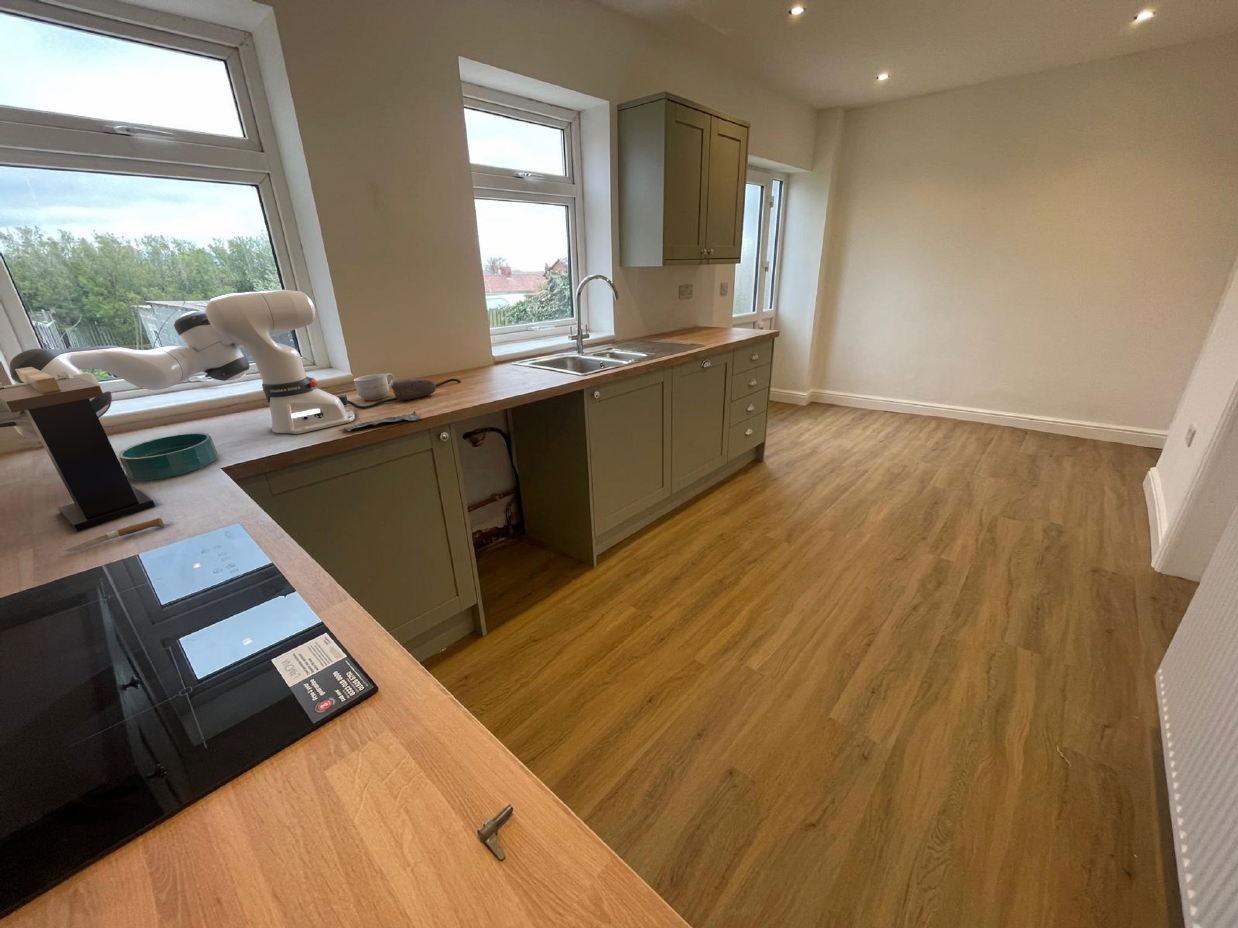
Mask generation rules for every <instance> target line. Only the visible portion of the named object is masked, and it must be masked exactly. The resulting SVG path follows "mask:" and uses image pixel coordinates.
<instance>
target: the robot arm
mask: <svg viewBox="0 0 1238 928" xmlns="http://www.w3.org/2000/svg"><path fill="white" fill-rule="evenodd" d="M205 308H206V309H205V310H192V311H188V312H185V313H183V314H182V315H180V316H178V318H177V319H175V321H174V323H173V327H174V329H175V332H176V333H177V335H178V336H180V337H181V338H182V340H183V342H184V343H185V345H186V346H187V347H186V346H182V345H168V346H160V347H159V346H158V347H154V348H151V349H145V350H144V349H133V348H126V347H122V346H120V345H111V344H110V345H95V346H85V347H84V346H82V347H71V348H60V349H59V348H30V349H27V350H25V351H22V352H20V353H18V354H17V355H15V356H13V358H12V359H11V360H10V362H9V374H10V378H11V380H13V381H14V382H17V383H15V384H8V385H7V384H6V385H3V384H2V382H1V381H0V390H2V389H9V388H15V387H21V386H27V385H28V384H26V383H24V382H23V381H21V380H20V378H19V376H18V374H17V372H16V370H15V369H20V368H27V367H33V368H35V369H37V370H39V371H42V372H44V373H46V374H48V375H50V376H52V377H55V379H56V381H59V380H65V379H71V378H77V377H79V378H82V379H84V380H87V381H89V382H92V383H94V384H97V385H99V386H100V388H101V390H102V392H103V395H104V396H100V397H94V398H89V400H90V402H91V404H92V406H93V408H94V410H95V412H96V414H97V416H98V418H99V419H100V418H101V417H103V416H104V415H105V414H106V413H107V412H108V411H109V409H110V408H111V405H112V401H113V396H112V392H111V391H110V390H109V389H107V388H106V387H104V386H103V385H102V384H100V382H99V380H98V379H97V377H96V376H95V374H93V373H91V372H83V371H82V370H87V369H96V370H101V371H105V372H107V373H110V374H112V375H114V376H116V377H118V378H120V379H122V380H123V381H126V382H127V383H129V384H131V385H133V386H135V387H137V388H140V389H143V390H148V391H160V390H165V389H169V388H171V387H174V386H176V385H179V384H180V383H183V382H185V381H187V380H188V379H190V378H192V377H193V376H195V375H197V374H199V373H204V374H205V375H204V377H205V378H212V379H214V380H216V381H221V382H222V381H223V382H226V381H234V380H237V379H240V378H241V377H243V376H244V375H245V374H246V373H247V371H249V370H250V366H251V365H250V363H249V360H248V359H247V357H246V356H245V355H244V354H243V352H242V351H241V349H240V348H239V347H241V348H244V349H245V350H246V351H247V352H248V353H249V354H250V356H251V357H252V359H253V361H254V363H255V366H256V368H257V370H258V372H259V375H260V378H261V381H262V384H261V386H262V388H261V389H262V393H263V394H264V397H265V400H266V402H267V403H268V405H269V411H270V416H271V431H272V432H273V433H275V434H276V433H277V434H293V435H301V434H304V433H309V432H314V431H318V430H323V429H327V428H330V427H336V426H339V425H344V424H348V423H352V422H353V421H354V420H355V419H356V415H355V412H354V411H353V410H352V409H348V408H347V409H346V407H345V406H348V404H349V405H351V406H352V407H354V408H356V409H360V410H365V409H370V408H374V407H377V406H379V405H381V404H385V403H390V402H395V401H399V400H398V399H397V398H396V397H392V398H387V399H382V400H378V401H376V402H373V403H371V404H367V405H360V404H359V405H358V404H357V403H356V402H353V401H351V400H348V397H347V394H343V395H334V394H332V393H330V392H327V391H326V390H323V389H320V388H318V386H319V383H318V380H317V379H315V378H314V377H310V376H307V373H306V371H305V370H306V369H305V366H304V364H303V360H302V356H301V354H300V353H299V351H298V350H297V349H296V348H294V347H293V346H290V345H287V344H284V343H280V342H277V341H275V340H274V339H273V338H274V337H278V336H280V335H284V334H286V333H287V334H288V333H289V332H292V331H295V330H297V329H300V328H305V327H308V326H310V325H312V323H313V322H314V320H315V318H316V308H315V303H313V301H312V300H311V298H310V297H309V296H308V295H307V294H306V293H304V292H303V291H300V290H292V289H276V290H275V289H274V290H273V289H272V290H263V291H248V292H235V293H227V294H223V295H219V296H216V297H213V298H210V299H209V300H208V302H207V305H206V307H205ZM451 382H456V383H460V384H461V383H462V381H461V380H460V379H459V378H449V379H446V380H444V381H441V382H438V383H435V384H436V388H437V387H440V386H443V385H445V384H448V383H451ZM10 427H13V428H14V429H15V431H16V432H17V433H18V434H20V435H21V436H22V437H24V438H26V439H29V440H31V441H34V442H35V441H36V442H41V440H40V438H39V436H38V434H37V432H36V431H35V429H34V427H33V425H32V423H31V421H30V419H29V418H28V416H27V414H26V412H25V410H24V411H19V412H14V413H12V412H11V411H9V410H8V409H7V408H6V407H4V406H3V405H2V404H1V403H0V428H10Z"/></svg>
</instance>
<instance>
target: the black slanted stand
mask: <svg viewBox="0 0 1238 928" xmlns="http://www.w3.org/2000/svg"><path fill="white" fill-rule="evenodd" d="M57 383H58V385H59V387H60V389H61V390H58V391H52V392H47V393H42V392H40V391H38V390H37V389H35V388H33V387H31V386H30V385H27V386H21V387H15V388H9V389H2V390H0V403H1V404H2V405H3V406H4V407H6V408H7V409H8V410H9V411H11V412H12V413H14V412H19V411H24V410H25V412H26V414H27V416H28V418H29V419H30V421H31V423H32V425H33V427H34V429H35V431H36V432H37V434H38V436H39V438H40V440H41V441H40V442H41V443H42V445H43V448H44V449H45V451H46V454H47V455H48V457H49V459H50V460H51V462H52V464H53V466H54V468H55V469H56V472H57V474H58V476H59V477H60V480H61V482H62V483H63V485H64V487H65V488H66V490H67V492H68V494H69V496H70V498H71V500H72V501H73V503H68V504H67V505H62V506H59V507H57V509H58V512H59V513H60V514H61V516H62V517H63V518H64V519H65V520H66V521H67V522H68V523H69V525H71V527H72V528H73V529H74V530H75V531H76V532H77V533H78V532H80V531H84V530H87V529H90V528H93V527H97V526H100V525H103V524H105V523H108V522H111V521H115V520H118V519H120V518H124V517H127V516H130V515H133V514H137V513H139V512H142V511H145V510H148V509H151V508H154V507H156V504H155V502H154V500H153V499H152V498H150V497H149V496H148V495H146V494H145V493H144V492H142V491H141V490H139V489H138V488H137V487H135V486H134V485H131V483H130V481H129V479H128V476H127V474H126V472H125V470H124V467H123V465H122V463H121V461H120V459H119V457H118V455H117V453H116V452H115V449H114V447H113V445H112V444H111V442H110V440H109V439H110V438H108V435H107V433H106V431H105V429H104V426H103V425H102V423H101V420H100V418H98V416H97V414H96V412H95V410H94V408H93V406H92V404H91V402H90V400H89V398H94V397H100V396H104V395H103V392H102V390H101V388H100V386H99V385H97V384H94V383H92V382H89V381H87V380H84V379H82V378H79V377H77V378H71V379H65V380H59V381H57Z"/></svg>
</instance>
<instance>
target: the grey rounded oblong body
mask: <svg viewBox="0 0 1238 928" xmlns="http://www.w3.org/2000/svg"><path fill="white" fill-rule="evenodd" d="M436 384H437V383H435V382H434V381H433V380H431V379H427V378H411V379H407V380H397V381H396V380H395V381H394V382H393V385H392V386H391V389H392V391H393V392H392V393H393V394H394V396H395V397H394V398H397V399H398V400H397V401H408V400H415V399H420V398H425V397H428V396H431V395H432V394H434V393H435V392H436V390H437V387H436Z"/></svg>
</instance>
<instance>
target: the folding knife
mask: <svg viewBox="0 0 1238 928" xmlns="http://www.w3.org/2000/svg"><path fill="white" fill-rule="evenodd" d="M164 526H165V523H164V522H163V518H161V517H157V518H154V519H150V520H148V521H143V522H139V523H135V524H131V525H128V526H124V527H122V528H119V529H116V530H114V531H110V532H107V533H104V534H102V535H100V536H97V537H94V538H90V539H88V540H85V541H83V542H81V543H78V544H76V545H74V546H70V547H68V548H66V549H63V551H64V552H79V551H82V550H85V549H88V548H91V547H93V546H96V545H98V544H99V545H100V544H101V543H103V542H106V541H109V540H112V539H116V538H119V537H124V536H127V535H128V536H129V535H131V534H135V533H137V532H141V531H144V530H147V529H150V528H157V527H159V528H160V527H161V528H164Z"/></svg>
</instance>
